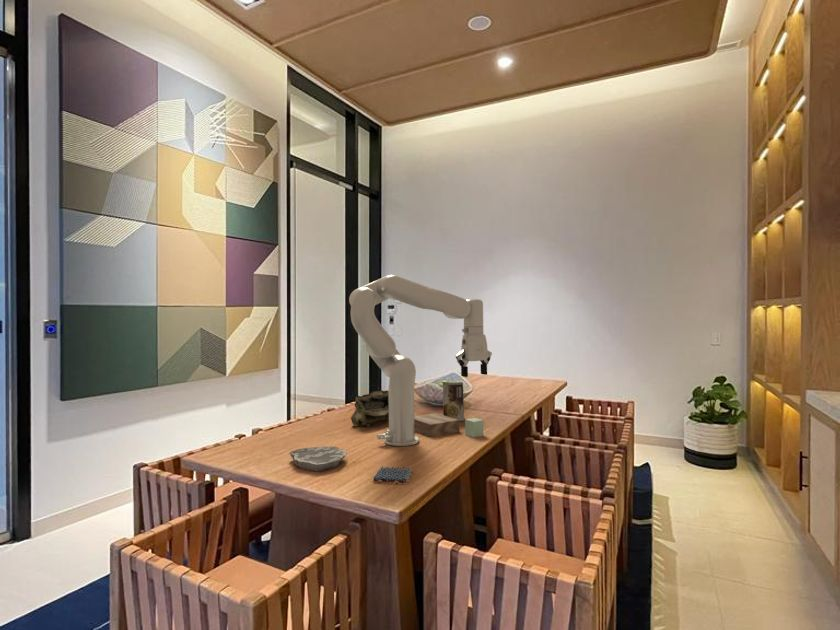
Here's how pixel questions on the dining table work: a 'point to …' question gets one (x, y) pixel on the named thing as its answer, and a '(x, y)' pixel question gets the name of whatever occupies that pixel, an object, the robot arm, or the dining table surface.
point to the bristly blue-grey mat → (393, 475)
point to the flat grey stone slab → (318, 457)
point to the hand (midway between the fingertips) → (474, 375)
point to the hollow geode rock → (371, 408)
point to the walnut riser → (435, 424)
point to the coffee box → (453, 400)
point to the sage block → (474, 427)
